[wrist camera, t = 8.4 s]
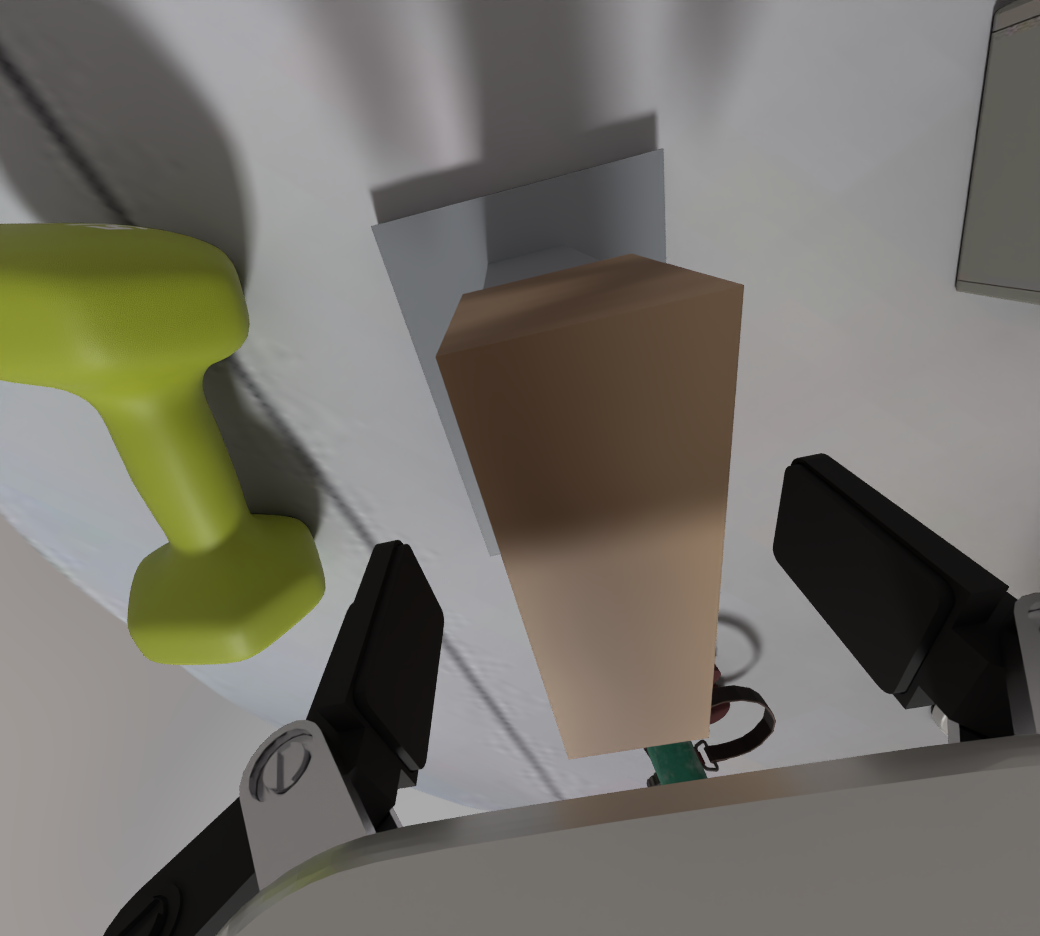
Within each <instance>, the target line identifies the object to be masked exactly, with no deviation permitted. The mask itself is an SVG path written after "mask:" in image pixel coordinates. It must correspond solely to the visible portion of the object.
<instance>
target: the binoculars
mask: <svg viewBox="0 0 1040 936" xmlns="http://www.w3.org/2000/svg"><path fill="white" fill-rule="evenodd" d="M720 676H721V673H720V671H719V669H718V668H717V667H716V665H715V664H714V675H713V688H712V701H711V714H710V724H712V723H715V722H717V721H719V720H720V719H721V718H723V717H724V716H725V715H726V713H727V712H728V710H729V708H730V702H734V701H747V702H754V703H758V704H760V705H762V706H763V707H765V711H764V716H763V719H762V720H761V721H760V722H759V723H758V724H757V725H756V727H755V728H754V729H753V730H752V731H750V732H749V733H747V734H746V735H744V736H743V737H741V738H738V739H736V740H733V741H730V742H727V743H723V744H719V745H712V746H708V745H707V743H706V741H704V740H700V741H699V742H698V743H697V744H695V746H694V747H693V745H692V742H691V741H685V742H679V743H672V744H666V745H659V746H653V747H646V748H644V750H645V751H646V753H647V754H648V756H649V757H650V759H651V761H652V764H653V766H654V769H655V771H656V773H654V775H653V776H651V777H650V778H649V779H648V780H647V786H648V787H653V786H660V785H667V784H673V783H680V782H687V781H693V780H700V779H707V776H706V773H705V771H704V769H705V770H707V771H715V772H717V771H718V770H719V767H718V765H717V763H716V762H719V761H724V760H727V759H729V758H733V757H737V756H740V755H743V754H745V753H748V752H751V751H752V750H754V749H755V748H757V747H758V746H760V745H761V744H762V743H763V742H764V741H765V740H766V739H767V738H768V737H769V736H770V735H771V734H772V732H773V731H774V727H775V723H776V720H775V717H774V715H773V713H772V711H771V710H770V708H769V707H768V705H767V704H766V702H765V701H764V699H763V698H762V697H761V696H760V694H759V693H757V692H755V691H754V690H752V689H751V688H746V687H740V686H734V685H732V686H723V687H719V686H718V685H716V684H714V683H715V682H716V681H717V680H718V679H719V678H720ZM702 743H704V745H705V748H704V750H705V752H706V754H707V756H708V758H709V760H710V762H711V763H714V765H715V767H716V768H708V767H706V766H705V762H704V760H703V758H702V756H701V753H700V752H698V750H697V748H698V746H700V745H701V744H702ZM703 768H704V769H703Z"/></svg>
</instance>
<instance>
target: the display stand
mask: <svg viewBox="0 0 1040 936" xmlns="http://www.w3.org/2000/svg"><path fill="white" fill-rule="evenodd" d="M371 228H372V231H373V233H374V236H375V239H376V242H377V244H378V247H379V250H380V253H381V256H382V258H383V261H384V264H385V267H386V269H387V272H388V275H389V278H390V280H391V283H392V286H393V289H394V292H395V294H396V297H397V300H398V303H399V305H400V308H401V311H402V314H403V316H404V319H405V322H406V325H407V328H408V330H409V333H410V336H411V339H412V341H413V344H414V347H415V350H416V352H417V355H418V358H419V361H420V364H421V366H422V369H423V372H424V375H425V377H426V380H427V383H428V386H429V389H430V391H431V394H432V397H433V400H434V402H435V405H436V408H437V411H438V413H439V416H440V419H441V422H442V425H443V427H444V430H445V433H446V436H447V438H448V441H449V444H450V447H451V449H452V452H453V455H454V458H455V461H456V463H457V466H458V469H459V472H460V474H461V477H462V480H463V483H464V486H465V488H466V491H467V494H468V497H469V499H470V502H471V505H472V508H473V510H474V513H475V516H476V519H477V522H478V524H479V527H480V530H481V533H482V535H483V538H484V541H485V544H486V546H487V549H488V552H489V555H490V556H494V555H499V554H501V553H500V550H499V547H498V544H497V541H496V538H495V535H494V532H493V529H492V526H491V523H490V520H489V517H488V514H487V511H486V508H485V505H484V502H483V499H482V496H481V493H480V490H479V487H478V484H477V481H476V478H475V475H474V472H473V469H472V466H471V463H470V460H469V457H468V454H467V451H466V448H465V445H464V442H463V439H462V436H461V433H460V430H459V427H458V424H457V421H456V418H455V415H454V412H453V409H452V406H451V402H450V399H449V396H448V393H447V390H446V387H445V384H444V381H443V378H442V375H441V372H440V369H439V366H438V363H437V360H436V357H435V356H436V354H437V352H438V350H439V347H440V345H441V343H442V340H443V338H444V336H445V334H446V331H447V329H448V327H449V324H450V322H451V320H452V317H453V315H454V313H455V311H456V308H457V306H458V304H459V301H460V299H461V297H462V294H465V293H470V292H474V291H478V290H482V289H486V288H490V287H494V286H498V285H503V284H507V283H511V282H515V281H519V280H523V279H527V278H531V277H536V276H540V275H544V274H548V273H552V272H556V271H560V270H564V269H569V268H573V267H577V266H581V265H585V264H589V263H593V262H597V261H602V260H606V259H610V258H614V257H618V256H622V255H626V254H630V253H631V254H635V255H639V256H642V257H646V258H649V259H653V260H656V261H660V262H663V263H666V240H665V196H664V152H663V149H659V150H655V151H651V152H648V153H644V154H640V155H636V156H633V157H629V158H625V159H621V160H618V161H614V162H610V163H606V164H603V165H599V166H595V167H591V168H588V169H584V170H580V171H576V172H573V173H569V174H565V175H562V176H558V177H554V178H550V179H547V180H543V181H539V182H535V183H532V184H528V185H524V186H520V187H517V188H513V189H509V190H505V191H502V192H498V193H494V194H490V195H487V196H483V197H479V198H475V199H472V200H468V201H464V202H460V203H457V204H453V205H449V206H445V207H442V208H438V209H434V210H430V211H427V212H423V213H419V214H415V215H412V216H408V217H404V218H400V219H397V220H393V221H389V222H385V223H382V224H378V225H374V226H371Z"/></svg>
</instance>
